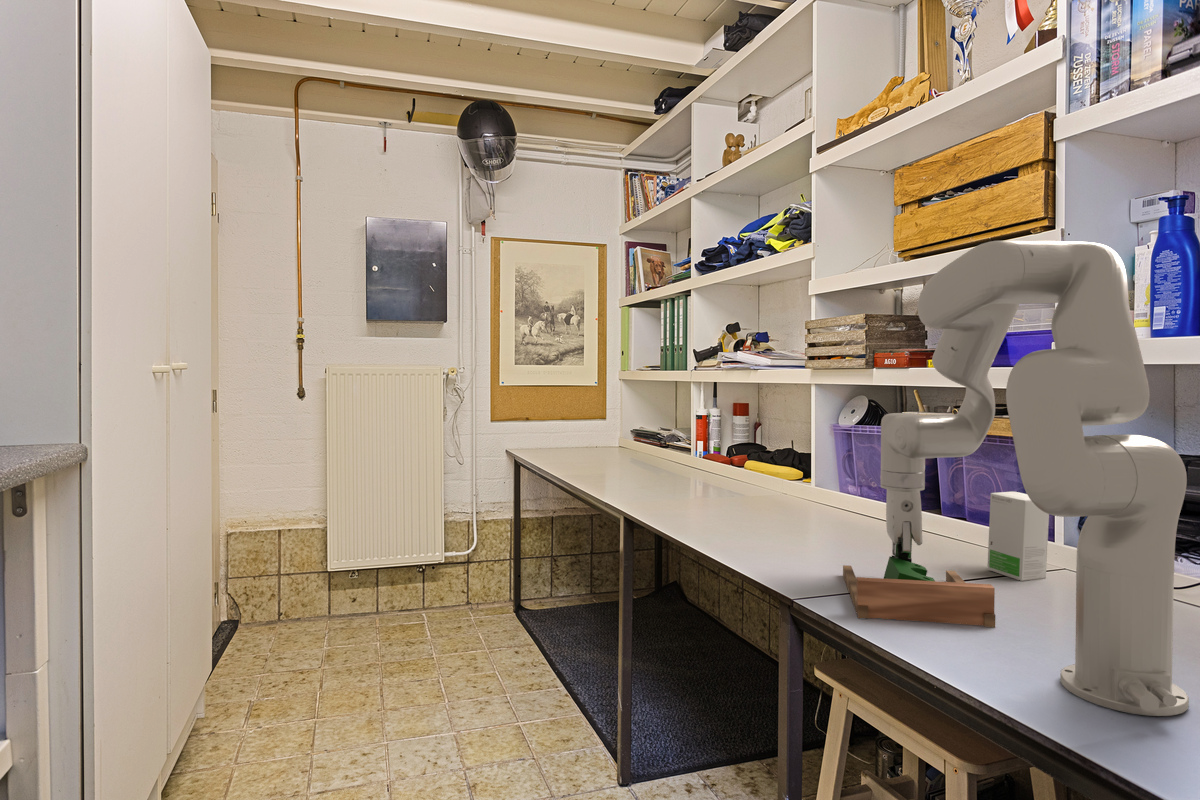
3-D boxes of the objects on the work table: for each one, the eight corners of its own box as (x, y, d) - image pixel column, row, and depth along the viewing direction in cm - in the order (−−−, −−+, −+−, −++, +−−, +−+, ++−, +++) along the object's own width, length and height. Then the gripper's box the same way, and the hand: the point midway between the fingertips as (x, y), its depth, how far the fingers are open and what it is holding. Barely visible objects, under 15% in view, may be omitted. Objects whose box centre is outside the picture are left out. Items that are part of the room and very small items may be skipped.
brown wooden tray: (995, 627, 109) (995, 588, 109) (858, 618, 114) (858, 581, 114) (954, 581, 133) (954, 549, 133) (842, 575, 138) (843, 544, 138)
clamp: (920, 630, 120) (937, 590, 116) (883, 619, 122) (899, 579, 117) (915, 585, 130) (931, 546, 126) (882, 575, 132) (896, 537, 127)
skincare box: (986, 570, 141) (987, 492, 140) (1012, 567, 143) (1013, 490, 142) (1023, 582, 133) (1023, 499, 132) (1050, 578, 135) (1050, 497, 134)
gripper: (933, 487, 122) (931, 592, 123) (916, 474, 137) (915, 568, 138) (886, 486, 124) (885, 589, 125) (875, 473, 139) (874, 566, 140)
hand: (901, 578), depth 131 cm, fingers closed
